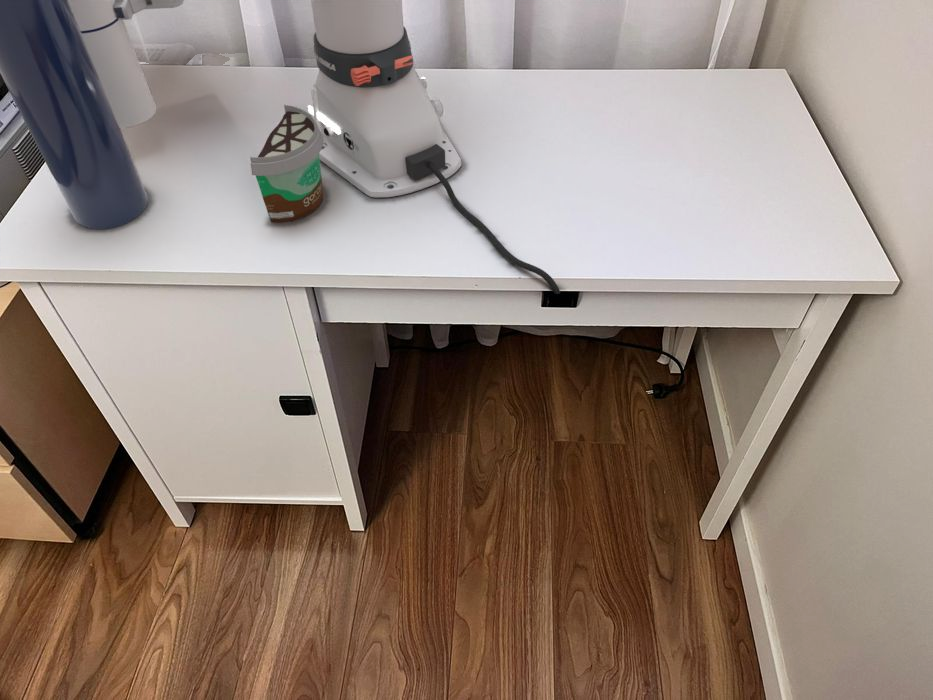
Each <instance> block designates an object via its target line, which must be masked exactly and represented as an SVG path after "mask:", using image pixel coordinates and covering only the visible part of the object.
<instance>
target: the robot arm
mask: <svg viewBox="0 0 933 700" xmlns="http://www.w3.org/2000/svg"><path fill="white" fill-rule="evenodd" d="M184 1H185V0H115V4H114V5H113V8H114V11H115V13H116V14H117V15H116V17H117V19H118V20H123V21H127V20H128V21H129V20H132V18H133V16H134V15H136V14H138V13H140V12H141V11H144V10H158V9H159V10H160V9H174V8H177V7H180V6H182V5H183V4H184ZM310 5H311V11H312V17H313V23H314V30H315V32H314V35H313V52H314V56H315V60H316V65H317V67H318V69H319V70H318V74H317V77H316V80H315V82H314V84H313V85H312V88H311V91H310V92H311V93H310V94H311V102H312V106H311V105H307V108H308V113H309V114H310V115H311V116H313V119H314V120H315V121H316V123H317V125H318V127H319V129H320V132H321V134H322V136H323V146H322V149H321V151H320V152H319V158H320V162H322V163H323V164H325V165H326V166H327V167H328V168H330V169H331V170H333V171H334V172H335V173H336V174H338V175H339V176H340V177H342V178H343V179H344V180H346V181H347V182H348V183H350V184H351V185H353V186H354V187H355V188H357V189H358V190H359V191H360V192H362V193H363V194H365V195H366V196H368V197H370V198H392V197H397V196H403V195H408V194H411V193H415V192H418V191H421V190H424V189H426V188H428V187H429V188H430V187H431V186H433V185H436V184H439V183H441V184H442V186H443V187H444V189H445V191H446V194H447V195H448V197H449V200H450V201H451V204H453V206H454V207H455V208H456V209H457V210H458V211H459V212H460V214H461V215H463V216H464V217H465V218H466V219H468V220H469V221H470V222H471V223H473V224H474V225H475V226H476V227H477V228H478V229H479V230H480V231H481V232H482V233H483V234H484V235H485V236H486V237H487V238H488V240H489V241H490V242H491V243H492V245H493V246H494V247H495V249H497V251H498V252H499V253H500V254H502V256H503V257H505V258H506V259H507V260H508V261H509V262H511V263H512V264H514V265H515V266H517V267H519V268H521V269H523V270H525V271H528V272H531V273H533V274H536V275H538V276H539V277H541V278H542V279H543V280H544V281H545V282H546V283H547V284H548V286H549V287H550V288H551V290H552V293H554V294H555V295H560V294H561V289H560V288H559V285H558V284H557V283H556V281H555V280H554V279H553V277H552V276H551V275H550V274H549V273H547V272H546V270H543V269H542V268H540V267H538V266H535V265H533V264H531V263H528V262H525V261H523V260H521V259H519V258H518V257H516V256H515V255H513V254H512V253H511V252H510V251H509V250H508V249H506V247H505V246H504V245H503V244H502V243H501V242H500V240H498V238H497V237H496V236H495V234H494V233H493V232H492V231H491V229H489V227H487V226H486V225H485V224H484V223H483V222H482V221H481V220H480V219H479V218H477V217H476V216H475V215H474V214H473V213H471V212H470V211H469V210H468V209H466V208H465V207H464V205H462V203H461V202H460V201H459V199H458V198H457V196H456V194H455V192H454V190H453V188H452V186H451V184H450V183H449V181H448V180H447V179H448V178H450V177H452V176H453V175H454V174H455V173H456V172H457V171H458V170H459V169H460V168H461V167H462V160H461V157H460V155H459V154H458V152H457V149H456V148H455V147H454V145H453V143H452V142H451V140H450V139H449V137H448V135H447V134H446V132H445V131H444V129H443V127H442V126H441V121H440V117H442V116H443V115H444V107H443V103H442V101H441V99H439V98H433V99H430V96H429V94H428V93H427V90H426V89H427V87H428V84H427V80H426V77H424V76H422V77H421V78H420V75H419V74H418V72H417V70H416V68H415V66H414V56H413V53H412V45H411V41H410V38H409V35H408V32H407V29H406V27H405V25H404V12H403V0H310Z"/></svg>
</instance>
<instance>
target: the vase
mask: <svg viewBox="0 0 933 700" xmlns="http://www.w3.org/2000/svg"><path fill="white" fill-rule="evenodd" d="M0 76H1V78H2V80H3V82H4V83H5V85H6V87H7V90H8V91H9V93H10V95H11V97H12V99H13V102H14V103H15V105H16V107H17V110H18V111H19V113H20V115H21V118H22V119H23V121H24V123H25V125H26V126H27V129H28V131H29V133H30V135H31V136H32V138H33V141H34V142H35V145H36V147H37V148H38V151H39V152H40V155H41V156H42V158H43V160H44V162H45V164H46V166H47V168H48V170H49V172H50V174H51V176H52V178H53V179H54V182H55V183H56V186H57V188H58V190H59V192H60V193H61V195H62V197H63V199H64V202H65V203H66V206H67V207H68V209H69V211H70V214H71V216H72V217H73V220H75V222H76V223H77V224H78V225H80V226H82V227H84V228H87V229H91V230H92V229H93V230H107V229H108V230H109V229H114V228H117V227H121V226H123V225H125V224H128V223H130V222H132V221H134V220H135V219H137V218H138V217H139V216H140V215H141V214H143V212H145V210H146V208H147V206H148V203H149V197H148V194H147V191H146V189H145V187H144V184H143V181H142V179H141V177H140V175H139V172H138V169H137V167H136V164H135V162H134V159H133V156H132V154H131V152H130V150H129V147H128V145H127V141H126V139H125V137H124V134H123V132H122V130H121V129H122V128H120V127H119V125H118V122H117V120H116V117H115V115H114V112H113V110H112V107H111V105H110V102H109V100H108V97H107V95H106V92H105V90H104V87H103V85H102V82H101V80H100V77H99V75H98V73H97V70H96V68H95V65H94V63H93V60H92V58H91V55H90V53H89V50H88V48H87V45H86V43H85V40H84V38H83V35H82V33H81V30H80V28H79V25H78V23H77V21H76V18H75V16H74V13H73V11H72V8H71V6H70V3H69V1H68V0H0Z"/></svg>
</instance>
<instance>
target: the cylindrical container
mask: <svg viewBox="0 0 933 700" xmlns="http://www.w3.org/2000/svg"><path fill="white" fill-rule="evenodd" d="M68 1H69V3H70V6H71V8H72V11H73V13H74V16H75V18H76V21H77V23H78V25H79V28H80V30H81V33H82V35H83V38H84V40H85V43H86V45H87V48H88V50H89V53H90V55H91V58H92V60H93V63H94V65H95V68H96V70H97V73H98V75H99V77H100V80H101V82H102V85H103V87H104V90H105V92H106V95H107V97H108V100H109V102H110V105H111V107H112V110H113V112H114V115H115V117H116V120H117V122H118V125H119V127H120V129H126V128H133V127H135V126H138V125H141V124H144V123H146V122H148V121H149V120H150V119H151V118H153V116H154V115H155V114H156V112H157V105H156V103H155V100H154V98H153V95H152V92H151V90H150V86H149V84H148V81H147V78H146V76H145V73H144V71H143V68H142V66H141V63H140V60H139V58H138V55H137V52H136V50H135V48H134V47H135V46H134V45H133V42H132V39H131V36H130V35H129V32H128V29H127V27H126V23H125V22H124V21H125V20H118V19H117V17H116V15H117V14H116V13H115V11H114V8H113V5H114V4H115V0H68Z"/></svg>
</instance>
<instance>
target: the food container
mask: <svg viewBox="0 0 933 700" xmlns="http://www.w3.org/2000/svg"><path fill="white" fill-rule="evenodd" d="M283 108H284V114H283V116H282V118H281V120H280V121H279V123H278V124H277V125H276V126H275V127H274V128H273V129H272V131H271V132H270V133H269V135H268V137H267V139H266V141H265V143H264V145H263V147H262V149H261V151H260V152H259V154H258V155H257V156H250V157H249V159H250V164H249V165H250V171H251V176H255V178H256V182H257V185H258V187H259V190H260V194H261V196H262V199H263V202H264V206H265V208H266V211H267V214H268V218H269V220H270V223H275V224H284V223H292V222H296V221H299V220H302V219H305V218H307V217H308V216H310V215H312V214H314V213H315V212H316V211H317V210H318V209H320V207H321V205H322V203H323V201H324V193H323V180H322V169H321V160H320V158H319V152H320V151H321V149H322V146H323V136H322V134H321V132H320V129H319V127H318V125H317V123H316V121H315V120H314V116H313V115H312V114H311V113H310V112H309V111H306V110H305V109H302V108H300V107H297V106H293V105H289V104H288V105H287V104H283Z"/></svg>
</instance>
